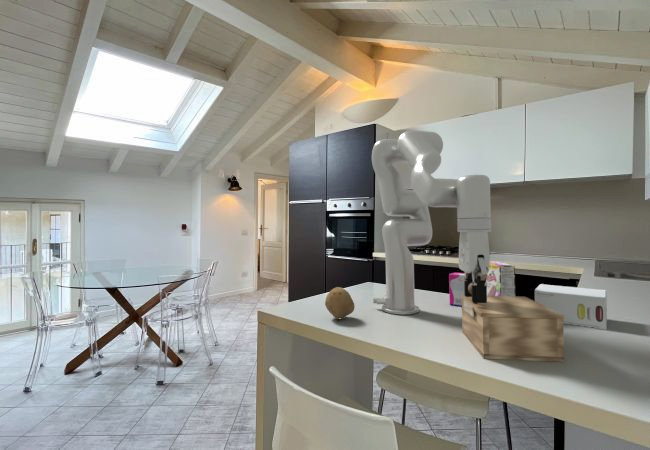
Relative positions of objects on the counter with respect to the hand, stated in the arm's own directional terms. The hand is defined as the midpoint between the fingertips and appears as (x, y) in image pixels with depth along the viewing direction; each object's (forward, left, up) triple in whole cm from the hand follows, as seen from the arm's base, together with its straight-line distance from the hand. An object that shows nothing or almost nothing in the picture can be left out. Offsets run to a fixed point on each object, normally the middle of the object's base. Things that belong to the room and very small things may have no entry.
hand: (475, 298), depth 80 cm
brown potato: (-36, +19, -11) cm, 42 cm away
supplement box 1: (+6, +41, -11) cm, 43 cm away
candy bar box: (+16, +31, -11) cm, 37 cm away
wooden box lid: (+7, 0, -4) cm, 8 cm away
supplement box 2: (+34, +25, -11) cm, 44 cm away
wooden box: (+7, 0, -11) cm, 13 cm away
